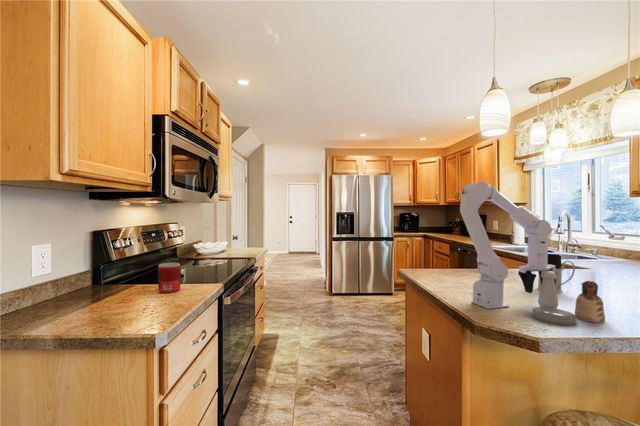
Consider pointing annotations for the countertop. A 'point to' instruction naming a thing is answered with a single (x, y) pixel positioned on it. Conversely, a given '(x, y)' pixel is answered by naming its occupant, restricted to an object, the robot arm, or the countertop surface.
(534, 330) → the countertop surface
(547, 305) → the salt shaker
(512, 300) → the countertop surface
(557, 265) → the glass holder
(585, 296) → the figurine
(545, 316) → the coaster
